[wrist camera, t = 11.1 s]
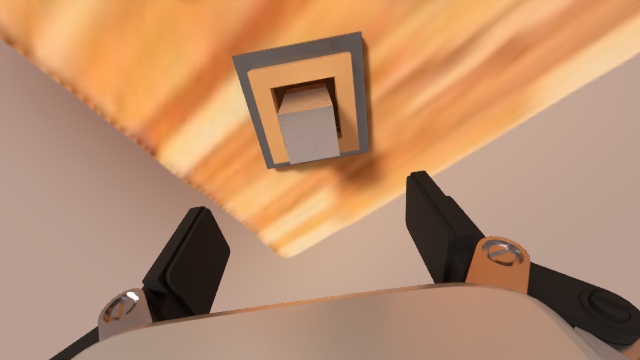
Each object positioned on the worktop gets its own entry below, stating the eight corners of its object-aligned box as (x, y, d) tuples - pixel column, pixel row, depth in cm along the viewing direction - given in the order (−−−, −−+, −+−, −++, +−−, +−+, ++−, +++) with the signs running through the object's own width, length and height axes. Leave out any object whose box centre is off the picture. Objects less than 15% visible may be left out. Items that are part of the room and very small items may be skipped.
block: (324, 82, 28) (332, 105, 19) (330, 120, 30) (339, 155, 21) (286, 89, 28) (277, 115, 19) (295, 126, 30) (290, 164, 21)
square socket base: (358, 31, 25) (365, 31, 22) (366, 146, 32) (372, 159, 29) (235, 55, 26) (226, 58, 23) (269, 163, 32) (265, 177, 29)
